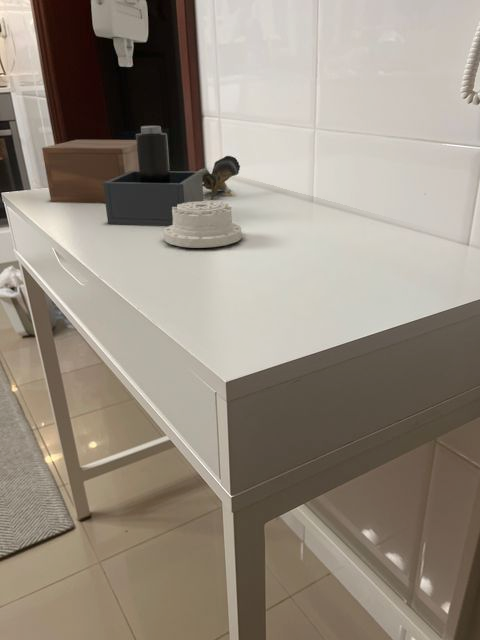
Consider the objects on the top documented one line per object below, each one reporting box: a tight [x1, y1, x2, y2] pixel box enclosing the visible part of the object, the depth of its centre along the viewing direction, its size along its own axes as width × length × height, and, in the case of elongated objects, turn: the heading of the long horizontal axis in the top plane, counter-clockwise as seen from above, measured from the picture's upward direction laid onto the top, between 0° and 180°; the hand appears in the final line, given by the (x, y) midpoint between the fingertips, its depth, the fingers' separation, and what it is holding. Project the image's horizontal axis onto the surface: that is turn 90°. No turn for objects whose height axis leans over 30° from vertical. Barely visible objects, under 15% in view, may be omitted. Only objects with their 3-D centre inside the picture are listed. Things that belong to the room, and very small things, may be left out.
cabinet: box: [41, 139, 139, 204], centre depth 99 cm, size 14×14×9 cm
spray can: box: [135, 125, 171, 183], centre depth 82 cm, size 4×4×12 cm
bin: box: [103, 170, 204, 227], centre depth 84 cm, size 12×12×6 cm
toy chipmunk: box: [197, 155, 241, 200], centre depth 99 cm, size 8×7×9 cm
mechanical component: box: [163, 200, 242, 249], centre depth 72 cm, size 10×4×10 cm
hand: (126, 66), depth 108 cm, fingers closed
